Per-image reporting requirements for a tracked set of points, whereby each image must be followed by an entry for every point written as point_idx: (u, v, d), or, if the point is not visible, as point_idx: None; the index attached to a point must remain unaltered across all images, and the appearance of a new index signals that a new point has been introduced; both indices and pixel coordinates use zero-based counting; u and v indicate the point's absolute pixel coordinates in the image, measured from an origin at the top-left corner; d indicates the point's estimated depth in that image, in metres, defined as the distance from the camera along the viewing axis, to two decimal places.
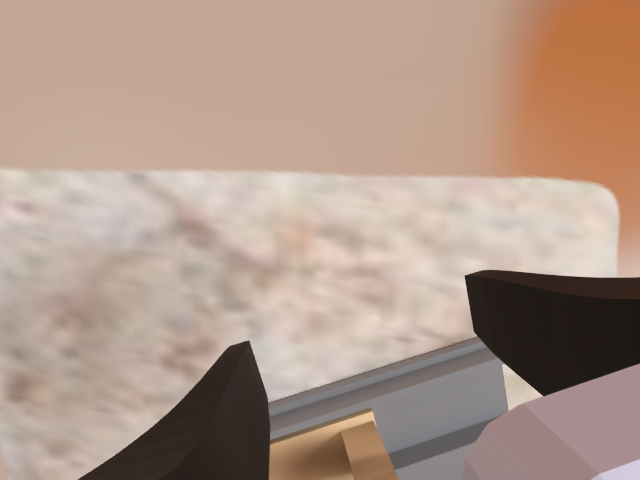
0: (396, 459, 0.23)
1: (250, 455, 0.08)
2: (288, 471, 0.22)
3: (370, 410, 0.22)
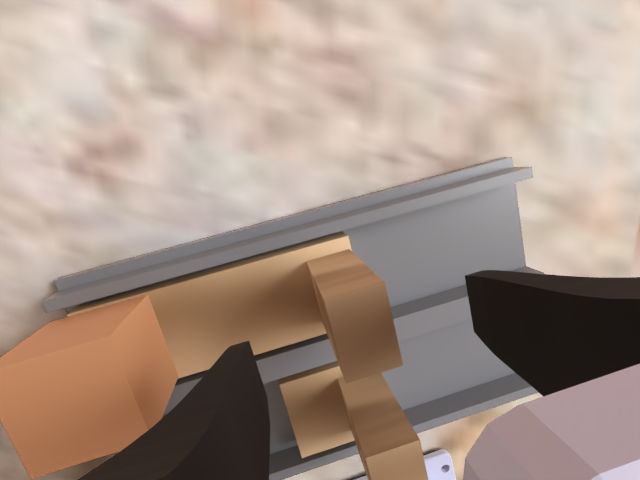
0: None
1: (251, 455, 0.08)
2: (237, 315, 0.16)
3: (345, 236, 0.16)
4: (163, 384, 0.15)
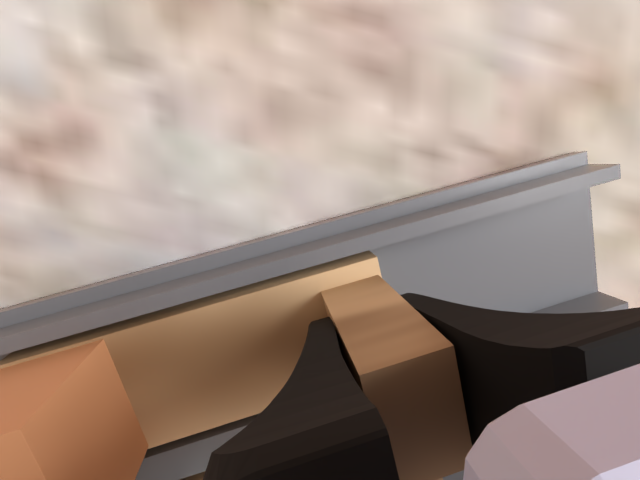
0: None
1: None
2: (227, 365, 0.12)
3: (373, 257, 0.12)
4: (122, 469, 0.10)
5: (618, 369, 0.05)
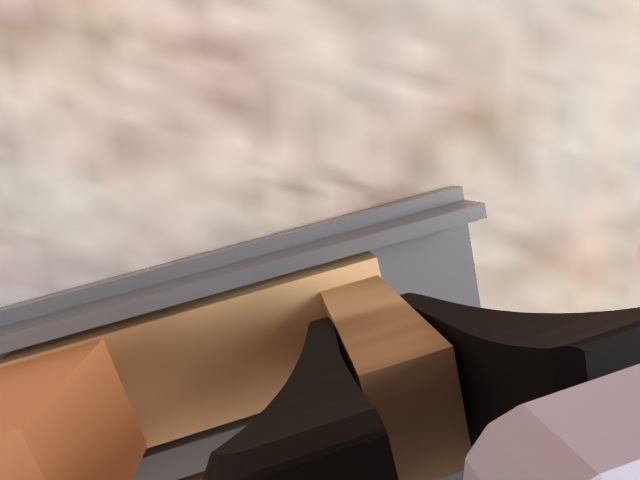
0: None
1: None
2: (226, 365, 0.12)
3: (373, 257, 0.12)
4: (120, 469, 0.10)
5: (618, 369, 0.05)
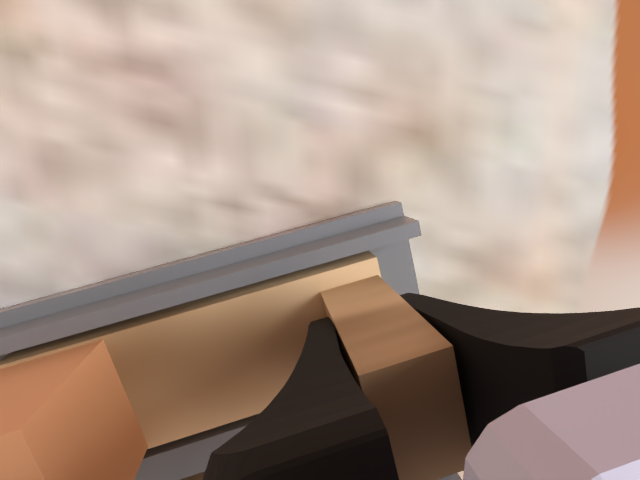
0: None
1: None
2: (226, 365, 0.12)
3: (372, 257, 0.12)
4: (121, 470, 0.10)
5: (618, 369, 0.05)
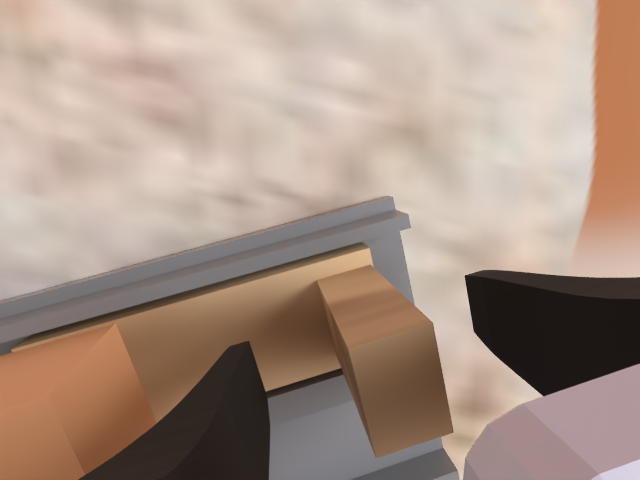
0: None
1: (251, 455, 0.08)
2: None
3: (365, 248, 0.13)
4: (133, 441, 0.11)
5: None
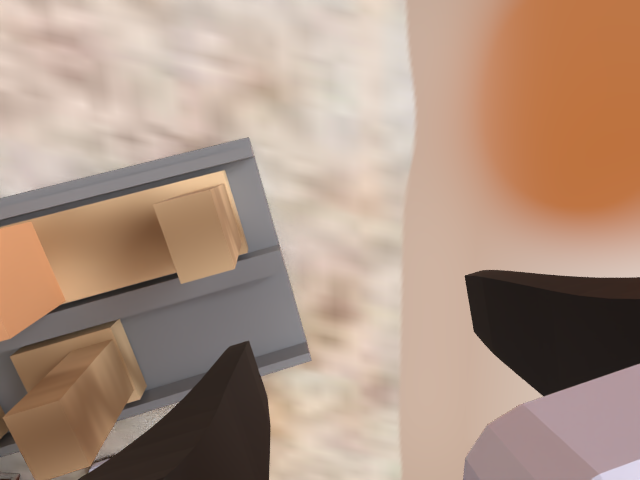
0: (121, 290, 0.19)
1: (251, 455, 0.08)
2: (119, 244, 0.18)
3: (220, 171, 0.18)
4: (39, 300, 0.16)
5: None
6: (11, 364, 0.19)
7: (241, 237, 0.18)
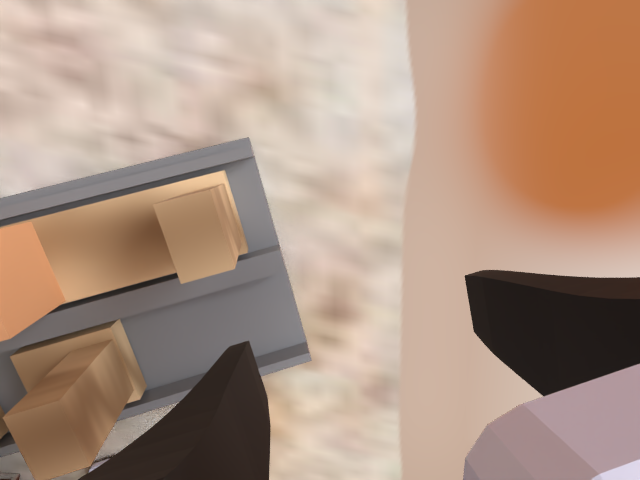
0: (121, 290, 0.19)
1: (251, 455, 0.08)
2: (119, 244, 0.18)
3: (220, 171, 0.18)
4: (39, 300, 0.16)
5: None
6: (11, 364, 0.19)
7: (241, 237, 0.18)
